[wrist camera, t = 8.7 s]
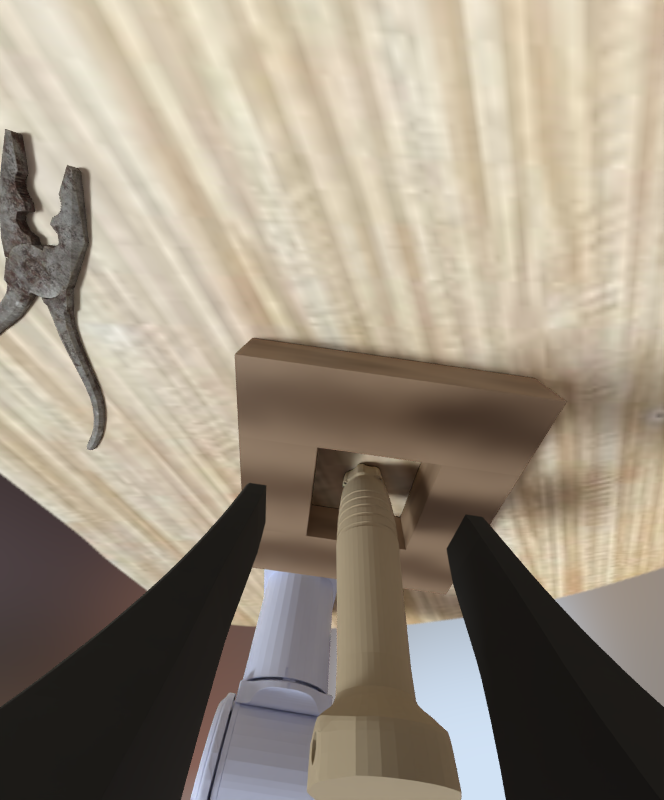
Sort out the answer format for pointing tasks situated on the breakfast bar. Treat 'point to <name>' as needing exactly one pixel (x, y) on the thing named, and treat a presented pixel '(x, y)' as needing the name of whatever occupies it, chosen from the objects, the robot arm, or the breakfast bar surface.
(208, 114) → the breakfast bar surface
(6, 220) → the pliers
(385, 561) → the handle
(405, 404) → the socket plate
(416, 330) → the breakfast bar surface
